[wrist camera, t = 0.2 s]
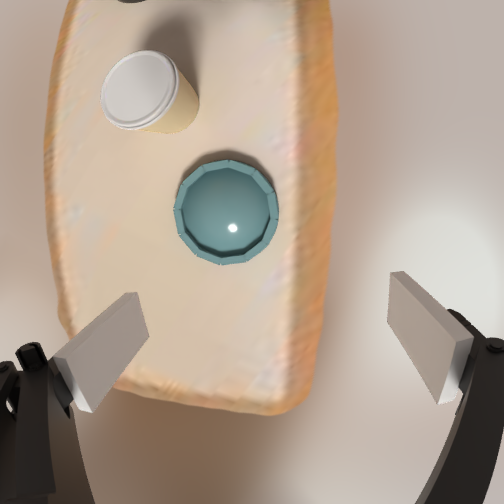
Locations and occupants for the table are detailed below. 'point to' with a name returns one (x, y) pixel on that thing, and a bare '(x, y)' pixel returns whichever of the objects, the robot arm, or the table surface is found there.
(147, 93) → the coffee cup
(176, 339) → the table surface
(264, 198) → the saucer
